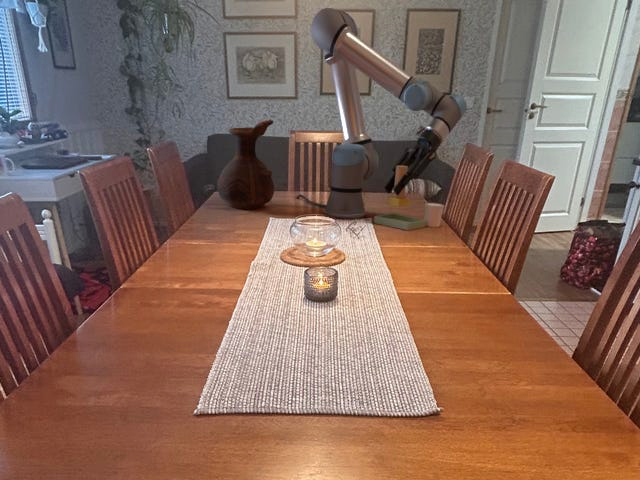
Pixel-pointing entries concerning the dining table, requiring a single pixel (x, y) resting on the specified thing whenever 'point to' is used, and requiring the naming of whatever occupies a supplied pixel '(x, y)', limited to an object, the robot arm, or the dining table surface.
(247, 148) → the jug
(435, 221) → the white cup
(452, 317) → the dining table surface
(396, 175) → the wooden peg on base
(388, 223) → the tray
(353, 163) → the robot arm
